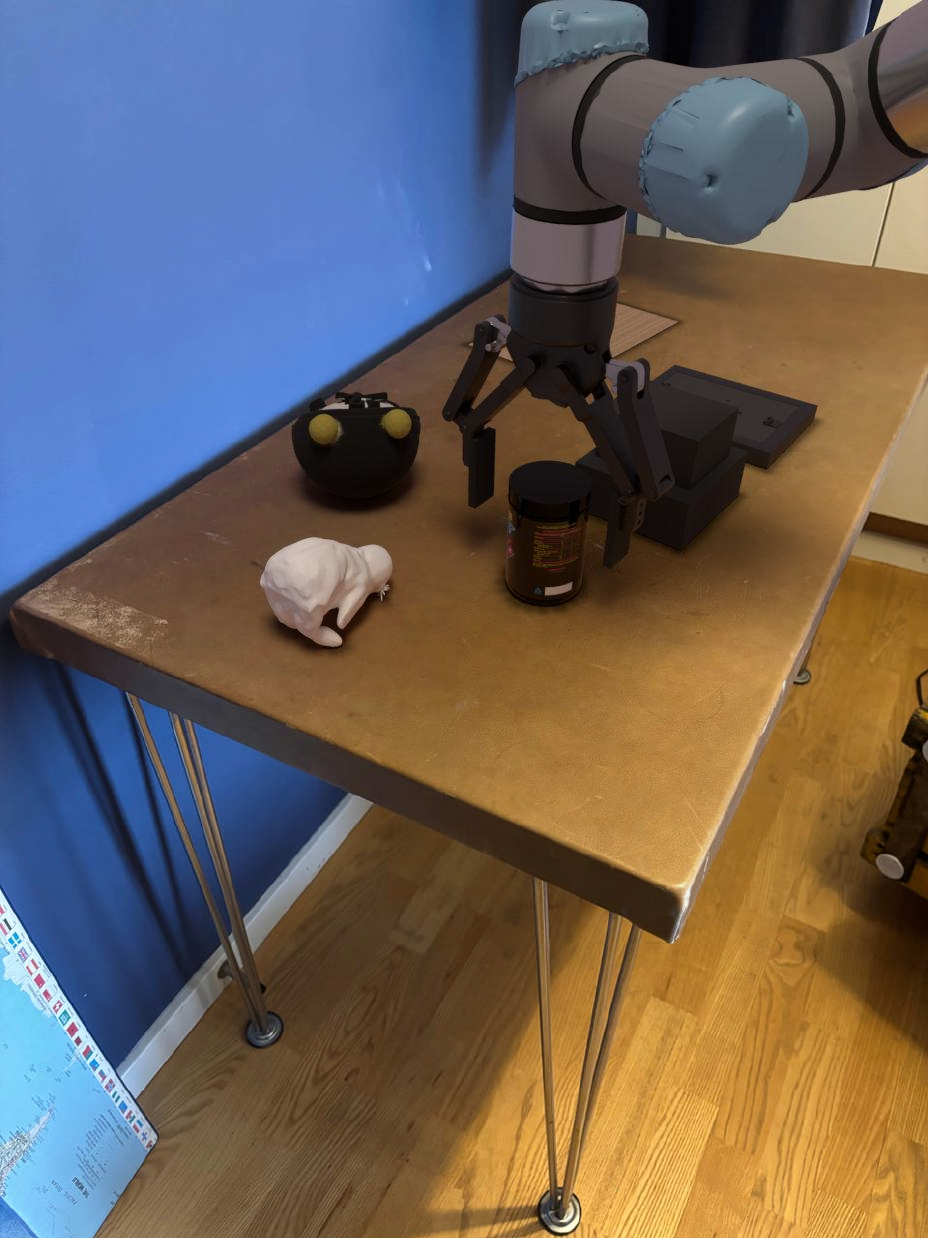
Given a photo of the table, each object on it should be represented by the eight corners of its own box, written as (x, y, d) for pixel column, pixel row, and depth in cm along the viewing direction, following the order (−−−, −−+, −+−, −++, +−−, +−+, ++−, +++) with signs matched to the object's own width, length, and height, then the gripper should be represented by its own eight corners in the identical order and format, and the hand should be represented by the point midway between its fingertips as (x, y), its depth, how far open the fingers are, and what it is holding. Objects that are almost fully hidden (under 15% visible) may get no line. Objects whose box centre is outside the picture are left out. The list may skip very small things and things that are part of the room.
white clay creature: (248, 545, 69) (358, 491, 77) (256, 635, 74) (359, 576, 82) (306, 576, 66) (414, 517, 74) (311, 668, 71) (412, 604, 79)
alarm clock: (424, 490, 98) (473, 390, 87) (337, 560, 89) (378, 459, 78) (344, 422, 100) (381, 315, 88) (250, 484, 91) (277, 373, 79)
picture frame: (617, 420, 103) (766, 469, 95) (619, 401, 101) (771, 450, 93) (672, 379, 111) (814, 420, 103) (675, 361, 110) (819, 402, 101)
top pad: (729, 455, 87) (739, 407, 84) (689, 490, 82) (698, 441, 79) (637, 424, 92) (643, 378, 88) (595, 455, 87) (600, 407, 84)
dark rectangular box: (738, 495, 91) (748, 451, 87) (680, 550, 83) (689, 504, 80) (633, 457, 96) (639, 414, 93) (571, 506, 89) (575, 461, 86)
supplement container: (557, 554, 83) (565, 453, 76) (596, 595, 78) (608, 492, 72) (491, 573, 81) (493, 471, 74) (527, 617, 76) (533, 512, 69)
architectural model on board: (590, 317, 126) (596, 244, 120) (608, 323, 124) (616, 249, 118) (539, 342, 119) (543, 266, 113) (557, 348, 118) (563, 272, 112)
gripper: (758, 300, 59) (701, 564, 72) (457, 222, 71) (457, 462, 84) (704, 337, 54) (654, 611, 68) (392, 248, 66) (403, 496, 80)
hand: (545, 529), depth 76 cm, fingers open, 13 cm apart
